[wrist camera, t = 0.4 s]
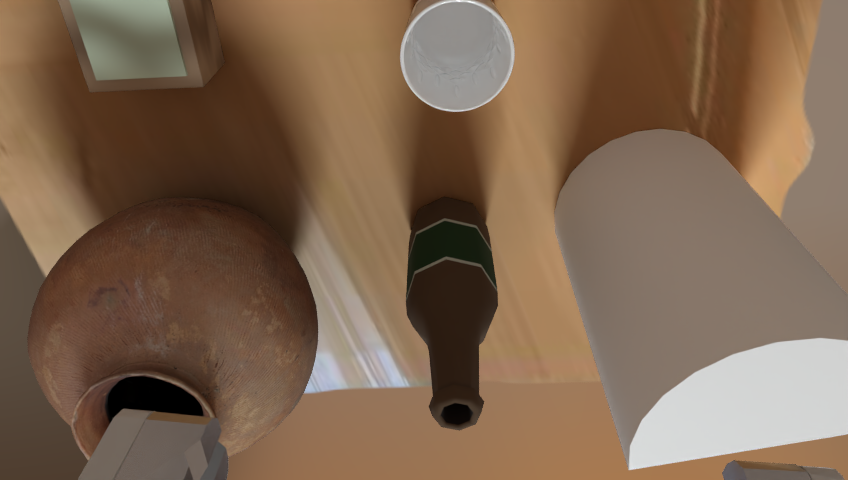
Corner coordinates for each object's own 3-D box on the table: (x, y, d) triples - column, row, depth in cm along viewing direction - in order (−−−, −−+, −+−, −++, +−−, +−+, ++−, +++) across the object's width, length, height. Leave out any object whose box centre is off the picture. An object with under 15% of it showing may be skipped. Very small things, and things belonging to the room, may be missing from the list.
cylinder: (539, 154, 59) (613, 372, 35) (734, 107, 56) (953, 309, 33) (568, 298, 68) (641, 547, 44) (736, 263, 65) (909, 508, 42)
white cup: (408, 70, 55) (403, 114, 46) (401, -28, 50) (396, 1, 42) (500, 66, 54) (513, 109, 46) (501, -34, 50) (516, -5, 42)
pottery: (139, 339, 72) (19, 551, 51) (78, 150, 59) (-116, 328, 38) (343, 339, 71) (306, 553, 50) (325, 150, 59) (266, 329, 38)
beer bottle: (403, 198, 61) (390, 379, 41) (484, 189, 61) (511, 368, 41) (415, 264, 66) (408, 458, 46) (490, 256, 65) (517, 448, 45)
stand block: (85, -46, 50) (44, -31, 45) (199, -52, 50) (171, -38, 44) (121, 68, 55) (88, 93, 49) (224, 62, 54) (202, 88, 49)
